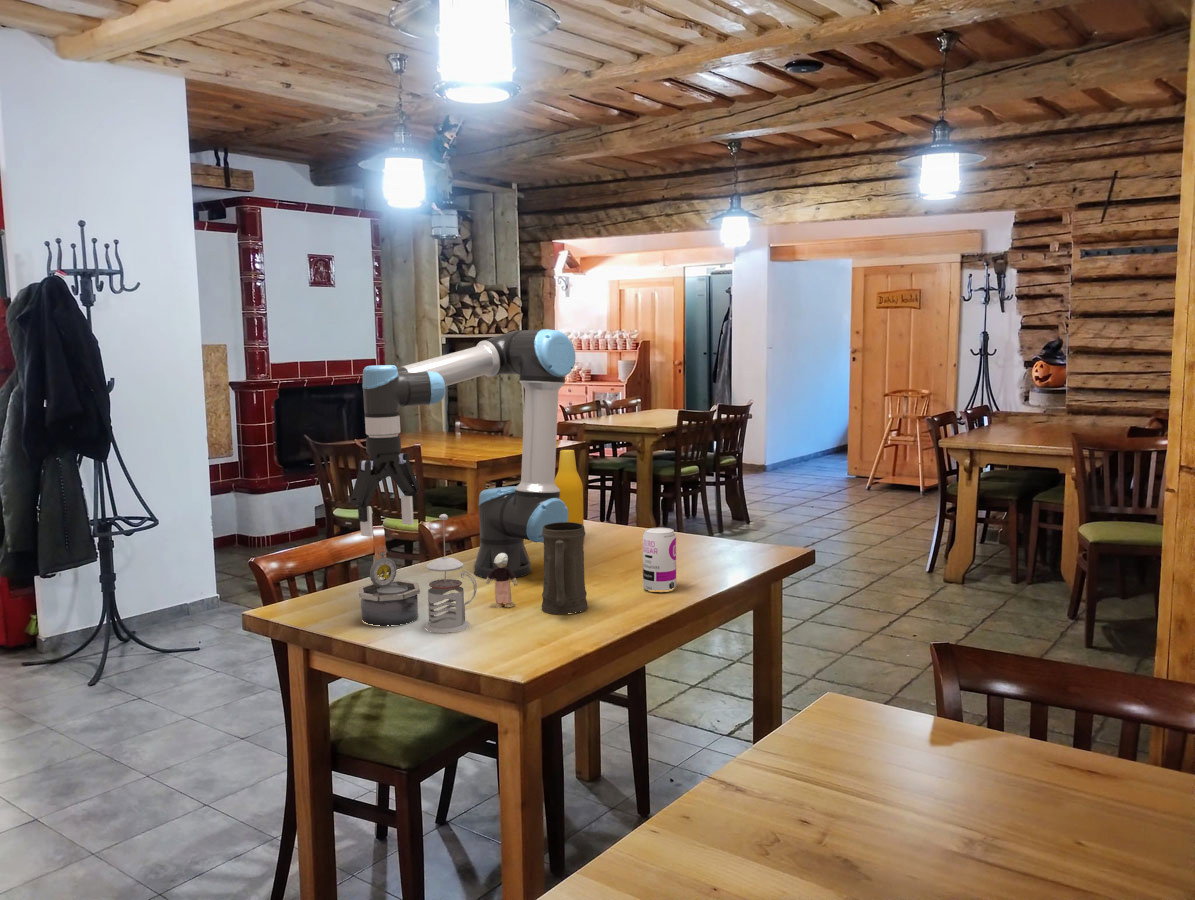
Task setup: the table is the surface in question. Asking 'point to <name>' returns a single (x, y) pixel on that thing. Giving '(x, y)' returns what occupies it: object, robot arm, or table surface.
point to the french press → (447, 596)
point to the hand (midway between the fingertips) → (387, 529)
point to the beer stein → (564, 568)
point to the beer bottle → (570, 486)
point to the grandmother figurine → (502, 581)
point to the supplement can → (659, 559)
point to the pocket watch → (385, 576)
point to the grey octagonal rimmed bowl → (389, 604)
